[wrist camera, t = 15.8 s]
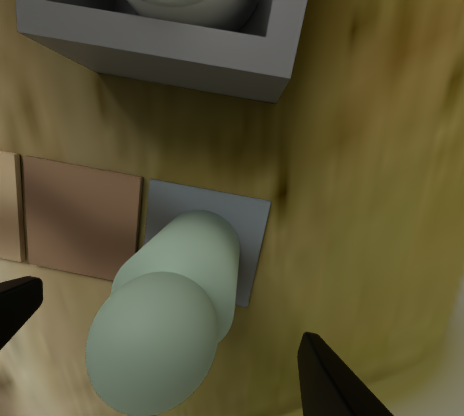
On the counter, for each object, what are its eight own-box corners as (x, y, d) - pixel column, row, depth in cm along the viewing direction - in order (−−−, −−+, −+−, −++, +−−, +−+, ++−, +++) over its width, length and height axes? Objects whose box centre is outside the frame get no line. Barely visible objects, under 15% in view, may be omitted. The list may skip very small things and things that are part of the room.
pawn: (166, 202, 12) (25, 291, 5) (246, 217, 12) (242, 336, 4) (159, 274, 14) (34, 446, 6) (232, 289, 13) (209, 484, 6)
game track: (-92, 133, 13) (-100, 133, 13) (270, 200, 12) (270, 202, 12) (-74, 240, 14) (-81, 242, 14) (247, 304, 14) (247, 307, 14)
